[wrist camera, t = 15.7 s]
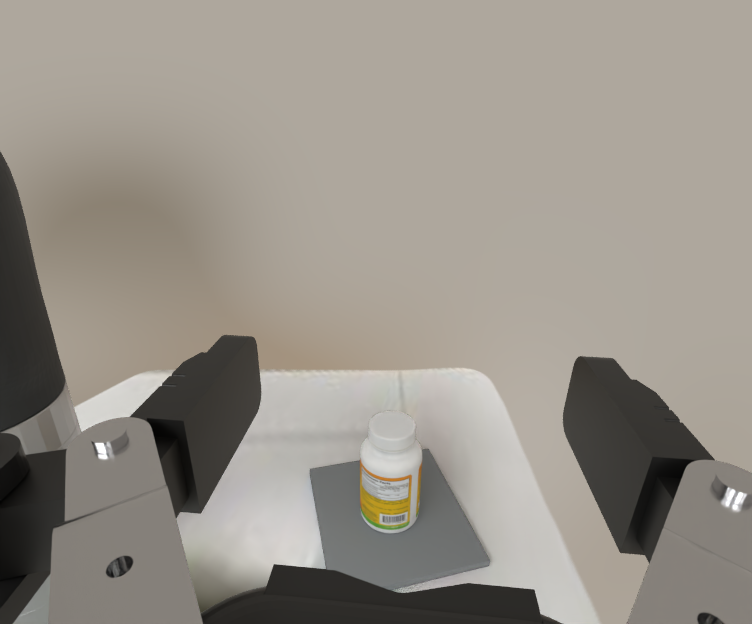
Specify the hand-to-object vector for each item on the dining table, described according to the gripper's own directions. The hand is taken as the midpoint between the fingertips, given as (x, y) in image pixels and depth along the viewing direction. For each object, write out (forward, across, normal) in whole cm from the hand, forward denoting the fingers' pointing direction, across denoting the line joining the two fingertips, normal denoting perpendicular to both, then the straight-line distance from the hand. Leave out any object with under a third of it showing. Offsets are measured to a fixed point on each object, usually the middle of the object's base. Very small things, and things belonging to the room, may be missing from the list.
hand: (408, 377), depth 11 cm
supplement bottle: (+20, +1, +27) cm, 34 cm away
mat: (+21, +1, +28) cm, 34 cm away
